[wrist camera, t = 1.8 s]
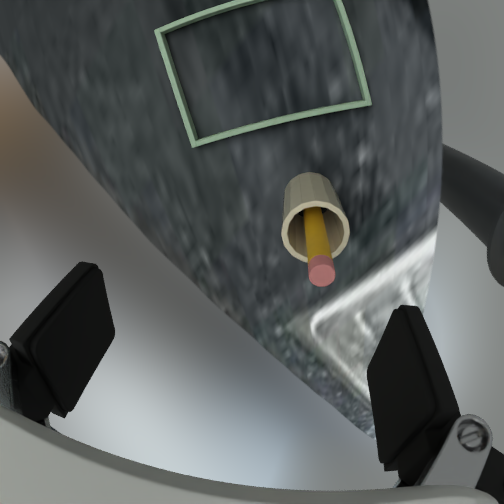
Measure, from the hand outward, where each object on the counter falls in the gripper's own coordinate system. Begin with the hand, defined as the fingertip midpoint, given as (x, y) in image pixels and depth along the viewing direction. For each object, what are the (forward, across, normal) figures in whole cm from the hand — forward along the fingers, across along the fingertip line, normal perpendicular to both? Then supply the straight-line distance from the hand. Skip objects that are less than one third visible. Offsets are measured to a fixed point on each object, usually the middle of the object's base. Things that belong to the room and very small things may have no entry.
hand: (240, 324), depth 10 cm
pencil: (+27, -4, +5) cm, 28 cm away
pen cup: (+27, -4, +5) cm, 28 cm away
